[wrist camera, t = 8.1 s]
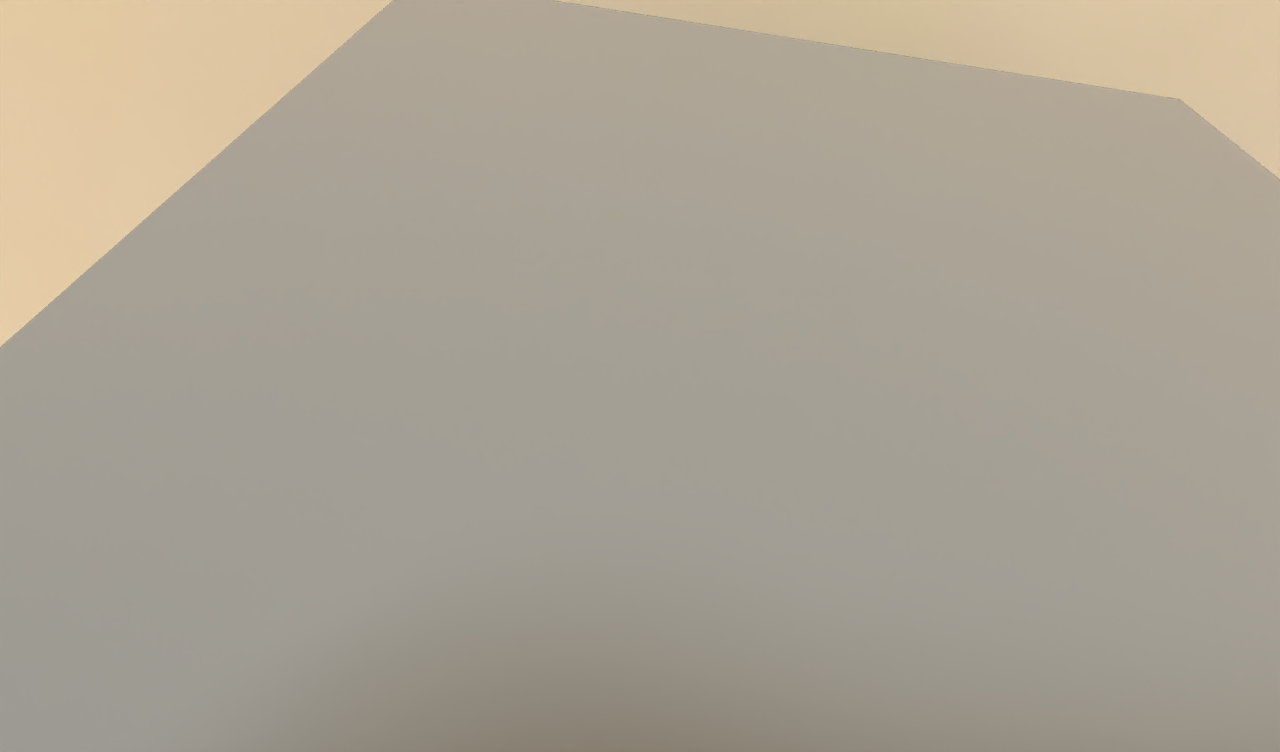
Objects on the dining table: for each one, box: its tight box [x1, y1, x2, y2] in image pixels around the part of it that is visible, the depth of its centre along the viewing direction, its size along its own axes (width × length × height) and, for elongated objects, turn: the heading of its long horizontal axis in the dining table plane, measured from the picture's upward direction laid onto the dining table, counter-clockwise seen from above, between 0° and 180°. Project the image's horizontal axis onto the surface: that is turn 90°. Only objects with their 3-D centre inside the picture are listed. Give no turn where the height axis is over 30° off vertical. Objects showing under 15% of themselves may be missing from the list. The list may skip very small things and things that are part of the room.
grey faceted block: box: [0, 0, 1280, 752], centre depth 7 cm, size 8×8×9 cm
